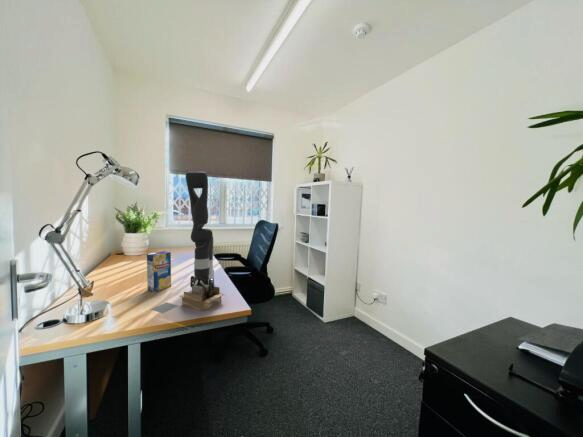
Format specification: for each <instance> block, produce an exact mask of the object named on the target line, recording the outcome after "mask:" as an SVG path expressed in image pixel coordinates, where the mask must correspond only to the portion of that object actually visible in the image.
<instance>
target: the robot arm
mask: <svg viewBox="0 0 583 437" xmlns="http://www.w3.org/2000/svg"><path fill="white" fill-rule="evenodd" d="M185 182H186V187H187V192H188V195H189V203H190V213H191V218H192V224H193V226H192V229H191V233H190V240H191V241H192V243H194V245H195V248H194V260H193V261H194V265H193V269H194V271H193V272H194V273H193V274H194V275H191V276H190V281H189V282H190V285H189V286H190V288H192V286H195V285H197V284H198V285H202V286H203V287H204V288H205V289H206V291H207V292H206V298H207V299H208V298H210V297H211V291H212V290H214V286H215V270H214V236H213V235H214V234H213V230H211V229H210V228H203V227H204V226H206V225H207V224H208V222H209V210H208V208H209V207H208V200H209V199H208V196H209V179H208V174H207V172H205V171H187V172H186V173H185ZM196 189H201V193H200V196H199V195H198V194H197V192H196V191H195V190H196ZM206 285H207V286H206ZM211 286H212V288H211ZM207 287H208V288H209V289H208V288H207Z"/></svg>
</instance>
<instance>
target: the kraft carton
mask: <svg viewBox="0 0 583 437" xmlns="http://www.w3.org/2000/svg"><path fill="white" fill-rule="evenodd" d="M220 290H221V288H220V287H219V286H215V285H214V290H212V297H211V298H209V299H207V300H205V301H203V302H202V295H197V294H193V293H192V290H191V291H183V294H180V295H179V297H180V298H181V305H182V307H186V308H190V309H193V310H198V311H201V312H204V311H206V310H208V309H209V308H211V307H213V306H215V305H217V304H218V303H220V302H222V296H224V295H225V294H224V293H222V292H221V291H220Z"/></svg>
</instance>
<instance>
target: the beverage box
mask: <svg viewBox="0 0 583 437" xmlns="http://www.w3.org/2000/svg"><path fill="white" fill-rule="evenodd" d="M171 256H172V255H171V252H170V251H166V250H163V251H159V252H158V251H157V252H151V253H147V254H146V272H147V273H146V274H147V275H146V277H147V278H146V279H147V281H146V282H147V283H146V284H147V290H148V291H150V292H154V293H155V292H158V291H161V290H164V289H167V288H170V287H172V259H171Z"/></svg>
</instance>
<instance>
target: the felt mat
mask: <svg viewBox="0 0 583 437" xmlns="http://www.w3.org/2000/svg"><path fill="white" fill-rule="evenodd" d="M177 307H179V305H177V304H174V303H171V302H167V301H166V302H164V303H162V304H160V305H157V306H155V307H153V308H150V311H151V310H152V311H154V312H158V313H161V314H164V313H167V312H169V311H171V310H172V309H175V308H177Z"/></svg>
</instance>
